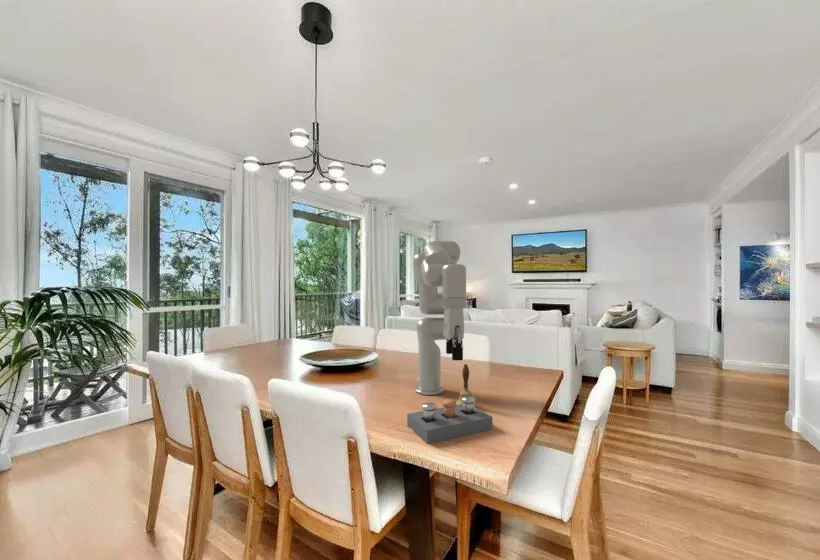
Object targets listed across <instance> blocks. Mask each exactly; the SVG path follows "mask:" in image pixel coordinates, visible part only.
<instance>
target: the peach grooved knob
mask: <svg viewBox="0 0 820 560" xmlns="http://www.w3.org/2000/svg"><path fill="white" fill-rule="evenodd" d="M456 403H457V401H456V400H455V399H452V398H451V399H450V398H446V399H442V406H443V407H444V417H445V418H447V419H449V418H454V417H455V406H456Z"/></svg>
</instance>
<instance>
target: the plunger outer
mask: <svg viewBox="0 0 820 560" xmlns="http://www.w3.org/2000/svg"><path fill="white" fill-rule="evenodd" d="M436 409H437V404H436V403H435V402H424V403H422V411H424V421H425V422H427V423H429V422H434V421H435V410H436Z"/></svg>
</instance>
